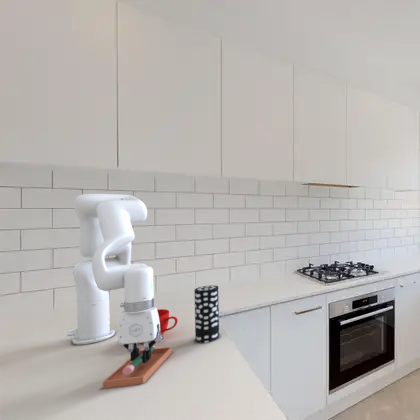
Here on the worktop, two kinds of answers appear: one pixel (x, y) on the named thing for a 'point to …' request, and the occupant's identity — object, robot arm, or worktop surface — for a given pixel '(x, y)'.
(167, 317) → the ceramic cup
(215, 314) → the white-spotted black cylinder
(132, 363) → the pencil
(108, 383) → the pencil tray
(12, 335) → the worktop surface
